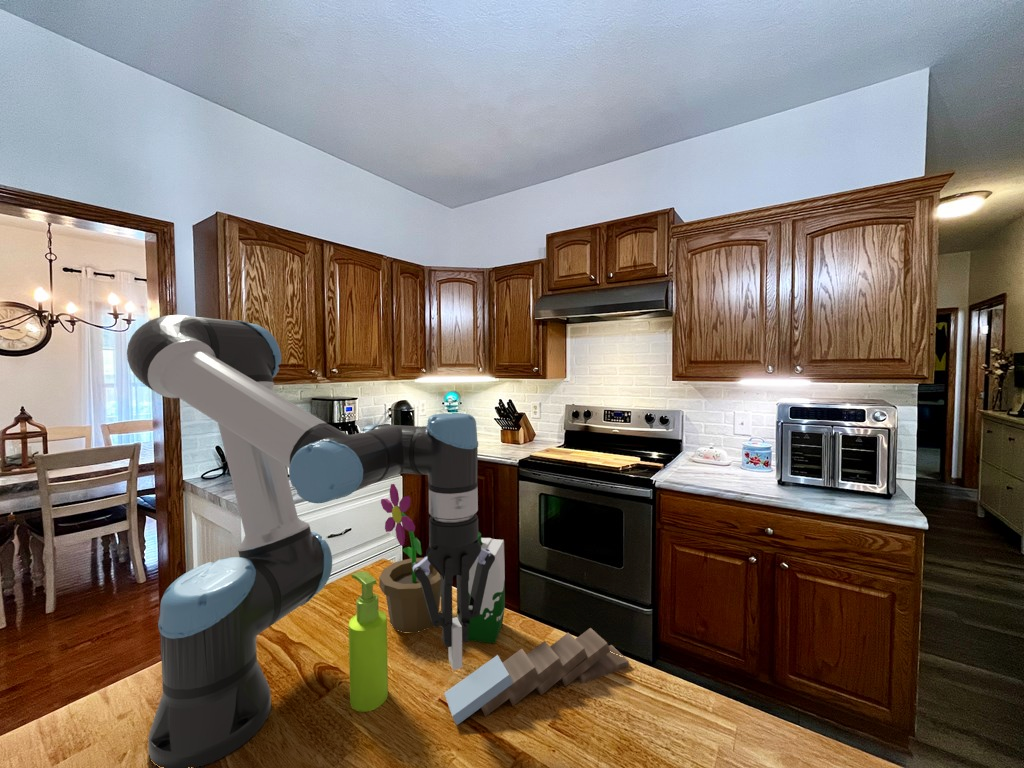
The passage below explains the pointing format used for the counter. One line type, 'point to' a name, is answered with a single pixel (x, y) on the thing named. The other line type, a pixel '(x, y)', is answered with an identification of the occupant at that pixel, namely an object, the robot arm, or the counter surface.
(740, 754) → the counter surface
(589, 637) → the domino
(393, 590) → the flowerpot
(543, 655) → the domino
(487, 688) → the domino
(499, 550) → the milk carton
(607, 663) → the domino
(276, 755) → the counter surface
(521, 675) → the domino
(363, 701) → the soap dispenser
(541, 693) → the domino
